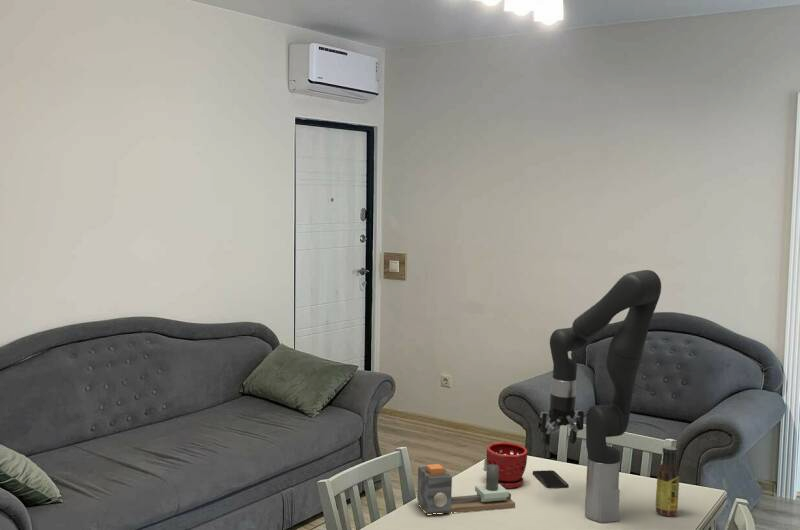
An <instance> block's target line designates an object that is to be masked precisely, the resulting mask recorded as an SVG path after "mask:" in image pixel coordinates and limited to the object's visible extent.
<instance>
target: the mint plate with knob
mask: <svg viewBox="0 0 800 530" xmlns="http://www.w3.org/2000/svg"><path fill="white" fill-rule="evenodd" d="M498 474H499V466H498V465H494V464H489V465H487V472H486V474H485V476H486V477H485V478H486V479H485V480H486V481H485V484H483V485H482V484H481V485H475V486H474V492H475V493H476V495H480V496H481V502H489V501H500V500H507V497H509V493H510V491H508V490H507V488H504V487H502V486H501V485H500V484H498Z"/></svg>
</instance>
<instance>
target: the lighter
mask: <svg viewBox="0 0 800 530" xmlns="http://www.w3.org/2000/svg"><path fill="white" fill-rule="evenodd" d="M501 452H502V450H500V453H501ZM503 455H505V454H503ZM483 460H484V461H483V471H484V470H485V471H487V457H484V458H483ZM485 471H484V472H485Z"/></svg>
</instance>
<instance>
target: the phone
mask: <svg viewBox="0 0 800 530" xmlns="http://www.w3.org/2000/svg"><path fill="white" fill-rule="evenodd" d="M532 475H533V477H535V479H537V480H538V481H539V482H540V484H541V485H542V486H544V488H546V489H548V490H549V489H557V488H558V489H569V484H568V482H567V481H566V480H564V478H562V477H561V476H560V475H559V474H558V473H557V472H556V471H555V470H533V471H532Z"/></svg>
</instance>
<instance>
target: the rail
mask: <svg viewBox="0 0 800 530" xmlns="http://www.w3.org/2000/svg"><path fill="white" fill-rule="evenodd" d="M417 471H418V472H417V505H418V504H419V505H420V506H421V508H422V509H423V510H424V511H425V512H426V513H427V514H433V513H436V514H437V513H451V512H452V513H453V514H455V513H454V512H464V513H469V512H468V511H475V512H482V511H483V510H486V511H493V510H495V509H497V510H506V509H516V502H515V501H514V500H513V499H512V494H511V493H510V492H509V497H507V500H500V501H489V502H481V496H480V495H477V494H472V495H471V494H470V495H461V496H459V495H457V496H452V493H453V492H452V491H453V490H452V487H453V480H452V479H453V476H452V475H451V474H450V473H449V472H448V471H447V470H446V469H444V474H437V475H429V474H428V473H427V472H426V466H418V467H417ZM421 508H420V509H421ZM481 510H482V511H481ZM483 512H484V511H483Z"/></svg>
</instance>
